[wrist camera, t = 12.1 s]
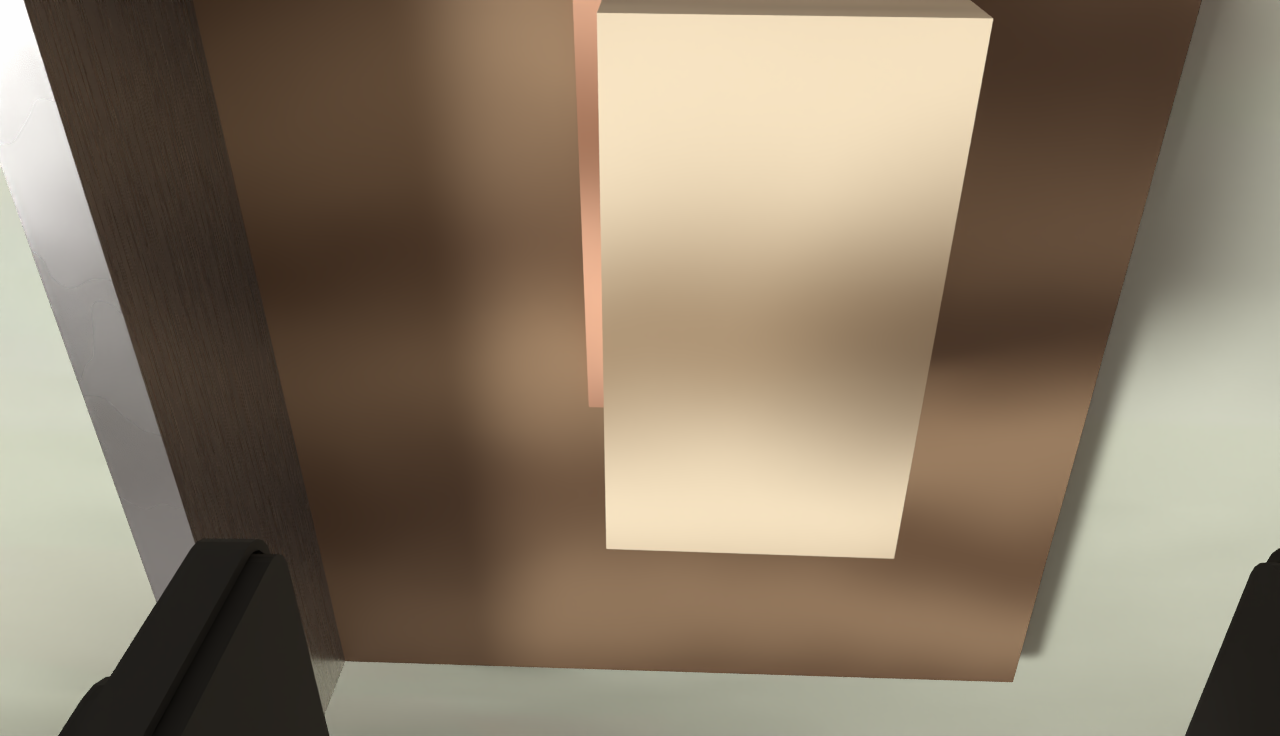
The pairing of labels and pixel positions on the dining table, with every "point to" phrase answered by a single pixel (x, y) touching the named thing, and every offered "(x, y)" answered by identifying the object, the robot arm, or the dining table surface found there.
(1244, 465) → the dining table surface
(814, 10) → the maple block
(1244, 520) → the dining table surface
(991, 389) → the walnut board
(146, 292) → the metal walls
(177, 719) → the robot arm
